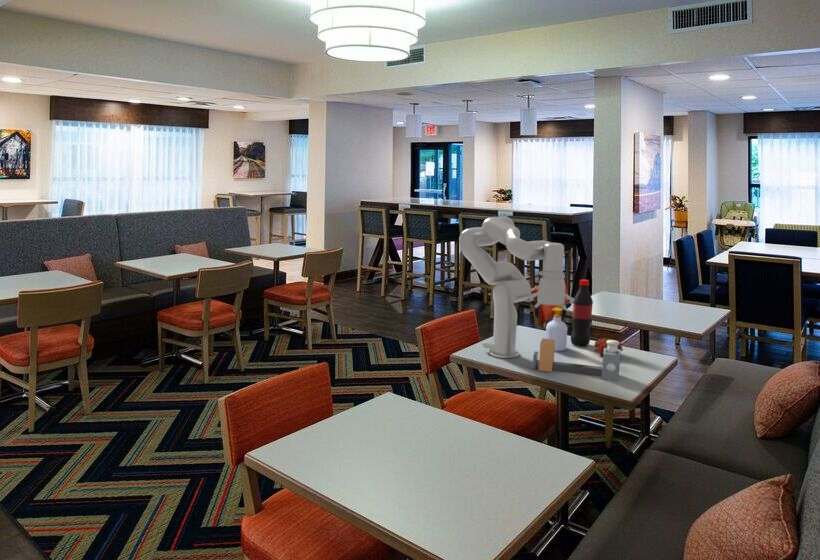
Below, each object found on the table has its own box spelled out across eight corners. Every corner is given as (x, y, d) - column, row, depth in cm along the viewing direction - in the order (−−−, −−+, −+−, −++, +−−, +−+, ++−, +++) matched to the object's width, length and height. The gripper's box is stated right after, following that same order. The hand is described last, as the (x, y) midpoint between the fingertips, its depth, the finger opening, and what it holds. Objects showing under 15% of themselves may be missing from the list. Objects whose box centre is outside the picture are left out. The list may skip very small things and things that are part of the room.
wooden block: (538, 370, 232) (540, 343, 230) (540, 364, 238) (542, 338, 236) (551, 371, 230) (553, 344, 228) (553, 366, 237) (555, 339, 235)
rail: (532, 369, 234) (533, 354, 233) (534, 365, 238) (534, 351, 237) (604, 378, 225) (605, 362, 224) (604, 373, 230) (605, 359, 229)
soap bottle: (541, 348, 261) (544, 294, 257) (550, 343, 268) (553, 290, 264) (560, 352, 256) (564, 297, 251) (569, 347, 263) (572, 293, 258)
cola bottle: (587, 342, 271) (592, 278, 266) (591, 348, 263) (596, 281, 257) (568, 341, 272) (573, 277, 266) (571, 347, 264) (576, 281, 258)
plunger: (605, 355, 224) (606, 342, 223) (605, 351, 228) (606, 339, 227) (618, 356, 223) (619, 343, 222) (618, 353, 227) (619, 340, 226)
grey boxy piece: (601, 379, 224) (603, 354, 222) (601, 372, 232) (603, 347, 230) (618, 381, 222) (620, 355, 220) (618, 374, 230) (620, 349, 228)
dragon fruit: (590, 356, 256) (619, 364, 252) (592, 350, 248) (621, 358, 245) (595, 338, 259) (623, 346, 255) (596, 332, 251) (626, 339, 248)
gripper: (528, 275, 227) (526, 318, 230) (575, 278, 222) (572, 322, 225) (530, 272, 234) (528, 314, 237) (576, 274, 229) (573, 318, 232)
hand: (550, 318), depth 231 cm, fingers open, 9 cm apart
